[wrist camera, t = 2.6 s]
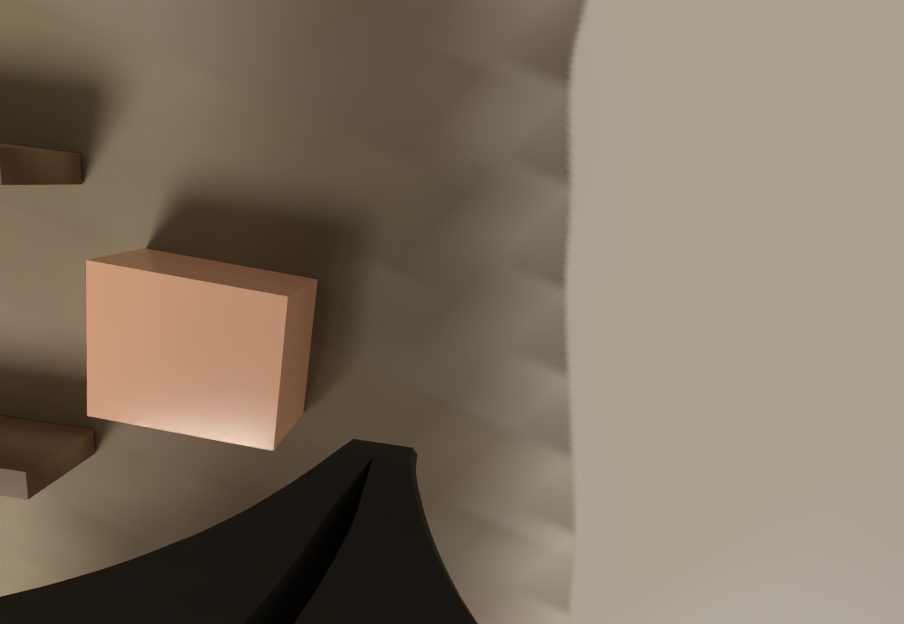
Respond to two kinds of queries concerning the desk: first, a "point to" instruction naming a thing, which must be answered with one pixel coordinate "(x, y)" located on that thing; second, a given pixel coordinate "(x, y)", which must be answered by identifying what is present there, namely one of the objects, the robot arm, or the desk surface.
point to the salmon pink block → (197, 346)
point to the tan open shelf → (20, 440)
